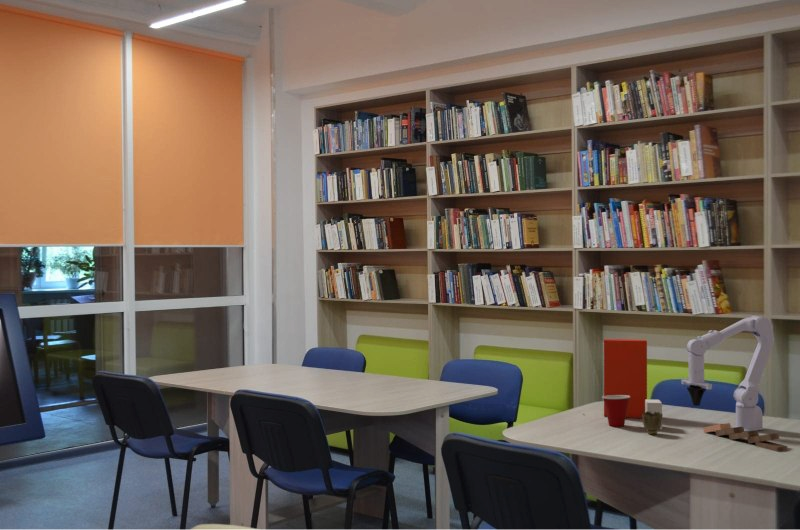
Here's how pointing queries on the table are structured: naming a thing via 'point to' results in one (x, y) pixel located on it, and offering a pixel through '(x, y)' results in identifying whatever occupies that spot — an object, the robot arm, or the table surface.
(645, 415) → the cup
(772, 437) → the domino
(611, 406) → the plastic cup
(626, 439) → the table surface
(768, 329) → the robot arm
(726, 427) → the domino
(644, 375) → the tall red box
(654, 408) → the small box
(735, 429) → the domino
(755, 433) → the domino
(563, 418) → the table surface
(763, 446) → the domino
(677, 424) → the table surface
